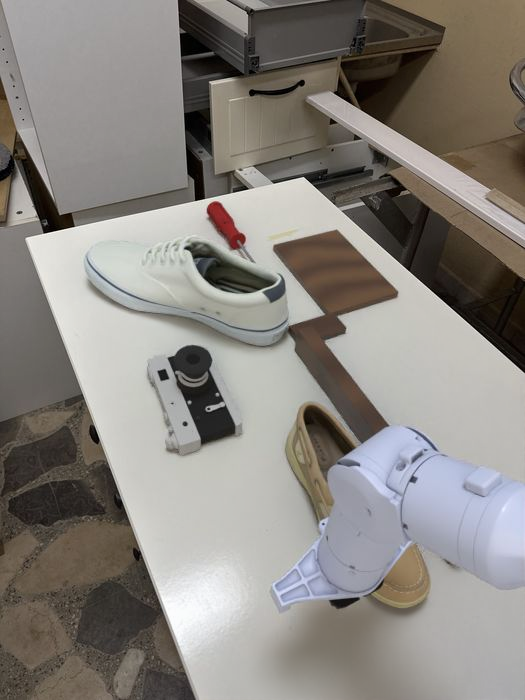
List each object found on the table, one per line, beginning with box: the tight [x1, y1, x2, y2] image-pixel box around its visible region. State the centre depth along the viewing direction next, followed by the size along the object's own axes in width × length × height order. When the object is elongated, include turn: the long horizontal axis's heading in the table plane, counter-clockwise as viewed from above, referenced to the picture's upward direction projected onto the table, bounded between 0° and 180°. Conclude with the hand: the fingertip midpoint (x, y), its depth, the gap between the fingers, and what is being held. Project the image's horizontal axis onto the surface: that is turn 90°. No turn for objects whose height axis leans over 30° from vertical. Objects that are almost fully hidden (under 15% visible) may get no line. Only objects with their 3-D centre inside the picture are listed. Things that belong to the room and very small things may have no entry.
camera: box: [146, 344, 243, 456], centre depth 70 cm, size 15×7×10 cm
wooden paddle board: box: [272, 229, 452, 565], centre depth 79 cm, size 60×23×4 cm, turn 27°
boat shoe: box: [285, 401, 432, 609], centre depth 60 cm, size 9×25×8 cm, turn 30°
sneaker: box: [83, 234, 291, 347], centre depth 82 cm, size 13×35×13 cm, turn 70°
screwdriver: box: [206, 201, 257, 264], centre depth 95 cm, size 4×25×4 cm, turn 26°
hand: (333, 594), depth 52 cm, fingers closed
